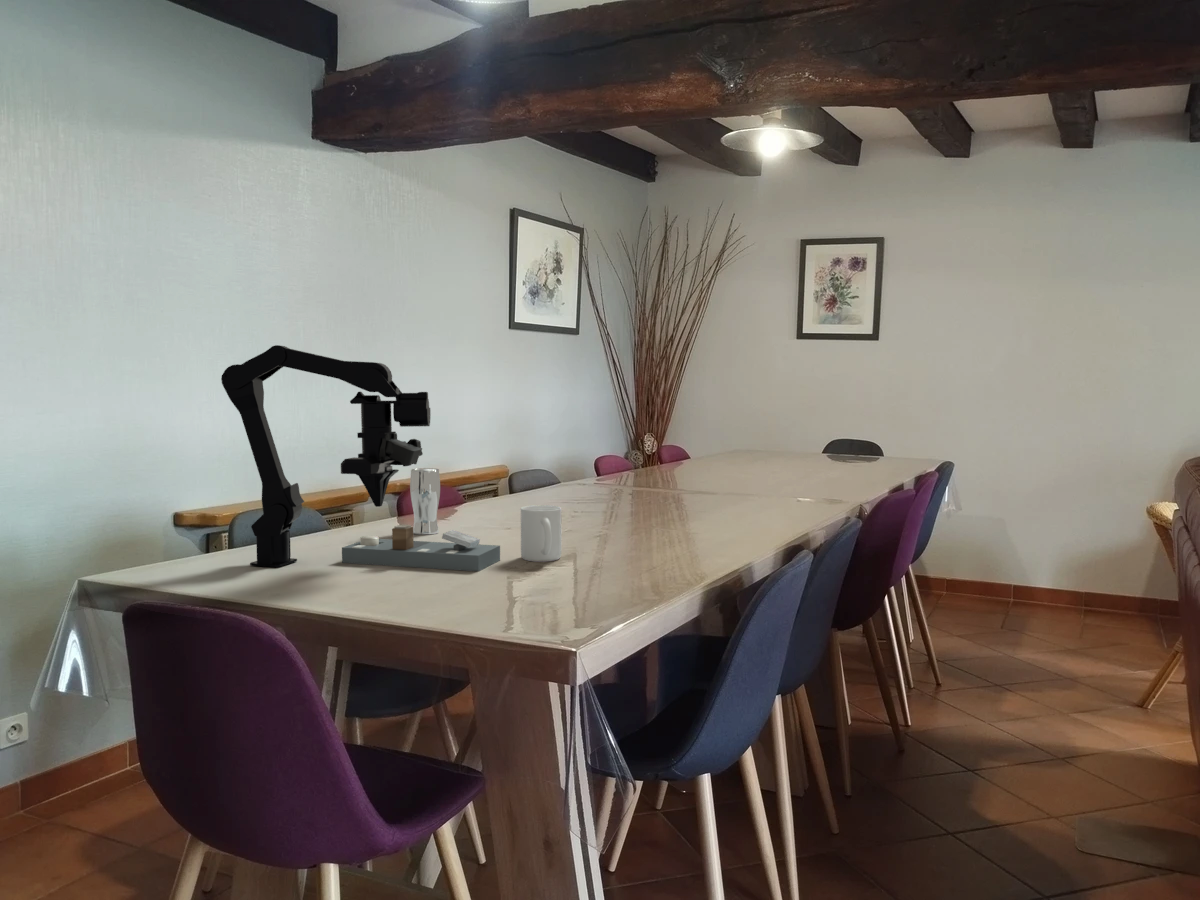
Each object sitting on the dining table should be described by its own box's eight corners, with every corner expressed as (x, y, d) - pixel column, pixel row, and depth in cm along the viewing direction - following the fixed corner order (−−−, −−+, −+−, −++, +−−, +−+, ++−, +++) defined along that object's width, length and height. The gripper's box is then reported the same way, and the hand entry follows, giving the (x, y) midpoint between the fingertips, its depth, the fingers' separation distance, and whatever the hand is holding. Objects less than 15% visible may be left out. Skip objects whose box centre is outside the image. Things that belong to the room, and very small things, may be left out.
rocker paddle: (469, 547, 177) (470, 543, 177) (441, 538, 179) (442, 533, 179) (478, 543, 182) (479, 539, 182) (451, 534, 183) (452, 529, 183)
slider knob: (406, 549, 179) (406, 527, 178) (392, 548, 179) (392, 526, 179) (413, 547, 181) (413, 525, 181) (399, 546, 182) (399, 524, 182)
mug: (568, 565, 180) (568, 512, 180) (526, 566, 178) (526, 514, 178) (557, 553, 192) (557, 504, 191) (518, 555, 190) (517, 505, 189)
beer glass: (437, 535, 213) (436, 471, 212) (407, 535, 214) (406, 470, 212) (443, 530, 220) (442, 468, 219) (414, 530, 221) (413, 468, 219)
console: (478, 571, 174) (478, 549, 173) (342, 562, 181) (341, 542, 181) (500, 560, 184) (500, 540, 184) (370, 552, 192) (369, 533, 192)
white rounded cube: (373, 558, 184) (373, 539, 183) (357, 557, 185) (356, 538, 184) (382, 554, 187) (381, 536, 187) (366, 553, 188) (366, 535, 188)
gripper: (393, 430, 168) (395, 514, 170) (434, 424, 186) (435, 501, 188) (338, 429, 171) (340, 512, 172) (383, 424, 189) (385, 499, 190)
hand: (378, 506), depth 180 cm, fingers closed
